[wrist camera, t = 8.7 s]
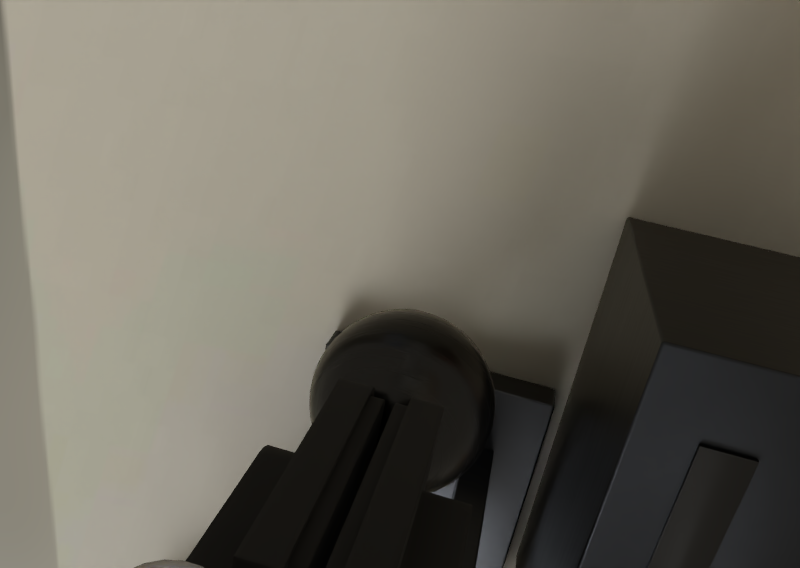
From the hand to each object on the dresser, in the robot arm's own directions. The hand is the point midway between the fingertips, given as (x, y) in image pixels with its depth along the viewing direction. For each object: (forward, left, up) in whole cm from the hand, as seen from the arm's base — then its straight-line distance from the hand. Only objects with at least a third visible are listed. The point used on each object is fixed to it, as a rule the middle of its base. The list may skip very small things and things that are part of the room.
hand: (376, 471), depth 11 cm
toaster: (+6, +8, -14) cm, 17 cm away
